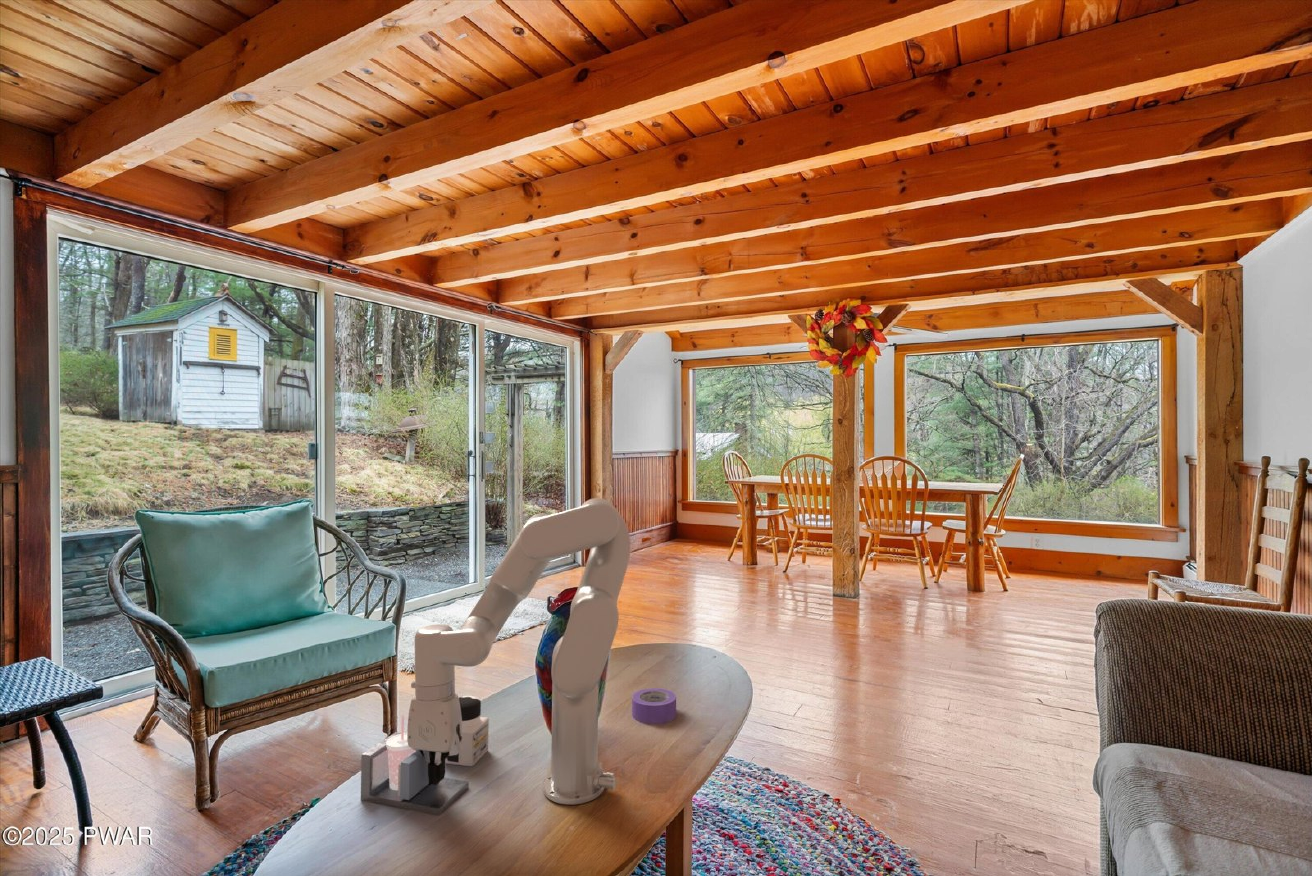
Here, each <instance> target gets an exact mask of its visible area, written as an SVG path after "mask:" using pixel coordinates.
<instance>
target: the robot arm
mask: <svg viewBox="0 0 1312 876" xmlns="http://www.w3.org/2000/svg"><path fill="white" fill-rule="evenodd" d="M586 550H589V554H588V557H587V560H586V564H585V568H584V570H583V573H582V576H581V579H580V582H579V585H578V587H577V590H576V592H575V594H574V597H573V598H572V601H571V604H570V610H569V611H570V612H569V613H570V615H569V618H568V622H567V625H566V628H565V631H564V634H563V635H562V636H561V637H560V638H559V639H558V641H557V642H556V643H555V646H554V648H553V651H552V656H551V657H552V658H551V670H550V671H551V673H550V674H551V680H552V687H551V692H552V694H551V696H552V697H551V702H552V703H551V704H552V705H551V752H550V753H551V755H550V756H551V757H550V758H551V760H550V761H551V762H550V763H551V764H550V768H551V769H550V771H551V772H550V775H548V776H547V777H546V779H544V782H543V787H542V788H543V789H542V790H543V794H544V795H545V796H546V797H545V798H547V799H549V800H550V801H552V802H554V803H557V804H561V805H567V806H568V805H571V806H572V805H581V804H585V803H588V802H591V801H593V800H595V799H596V798H598V797H600V795H602V794H603V792H604V791H605V789H609V790H615V789H616V785H617V779H616V778H615V773H614V772H609V771H604V769H603V762H599V761H598V755H599V753H598V751H599V750H598V749H599V748H598V747H599V745H598V744H599V743H598V742H599V739H598V738H599V682H600V680H601V677H602V674H603V672H604V669H605V666H606V664H607V661H608V657H609V655H610V652H611V649H612V646H613V643H614V641H615V637H616V634H617V631H618V626H619V620H620V619H619V618H620V617H619V609H618V599H619V595H620V592H621V589H622V587H623V583H624V580H625V576H626V572H627V570H628V565H629V561H630V557H631V538H630V532H629V529H628V526H627V523H626V521H625V519H624V518H623V516H622V515H621V514H620V512H619V510H618V509H617V508H616V507H615V505H613V504H612V503H611V502H610V501H609V500H606V499H605V498H599V497H594V498H590V499H588V500H586V501H584V503H582V504H581V506H578V507H575V508H572V509H567V510H565V511H561V512H557V513H554V514H549V513H547V512H546V513H544V512H542V513H536V514H534V515H532V516H531V517H530V518H529V519H528V520H526V522H525V524H524V525H523V527H522V528H521V530H520V531H519V532H518V534H517V536H516V537H515V539H514V540H513V542H512V544H511V545H510V547H509V548H508V550H507V551H506V553H505V555H504V556H503V558H502V559H501V561H500V562H499V563H498V565H497V566H496V568H495V570H494V571H493V573H492V575H491V577H490V580H489V582H488V585H487V587H486V588H485V590H484V591H483V593H482V595H481V596H480V598H479V599H478V601H477V602H476V603H475V606H474V607H473V609H472V610H471V612H470V613H469V614H468V616H467V618H466V619H465V621H464V622H463V624H462V625H461V626H460V628H459V629H457V630H454V629H453V628H452V627H451V626H450V625H447V624H431V625H426V626H423V627H421V628H420V629H418V630H417V631H416V632H415V634H414V680H415V681H412V682H411V684H410V687H411V689H414V690H415V691H414V693H415V694H414V695H413V696H412V697H411V700H410V705H409V709H408V710H409V711H408V716H407V717H408V718H407V732H406V733H407V743H408V746H409V747H410V748H412V749H413V750H415V751H418V752H420V753H421V754H422V755H423V757H424V760H425V763H426V764H428V777H429V784H433V785H437V784H438V783H439V782H440V781H441V780H442V779H443V778H446V777H445V776H446V763H445V759H446V758H447V757H448V756H452V755H457V754H458V753H459V752H461V746H460V742H461V741H462V716H461V708H460V703H459V695H458V693H457V692H456V676H455V674H456V673H455V667H456V666H457V667H467V668H469V667H471V668H472V667H476V666H478V665H481V664H482V663H483V662H484V661H486V660H487V658H488V656H489V655H490V653H491V650H492V646H493V644H494V642H495V640H496V638H497V636H498V635H499V633H500V632H501V630H502V629H503V627H504V626H505V624H506V622H507V621H508V619H509V618H510V616H511V614H513V612H514V610H515V609H516V608H517V607H518V605H519V604H520V603H521V602H522V601H524V600H525V599H526V598H527V597H528V596H529V594H530V593H531V592H532V590H533V589H534V587H535V586H536V584H537V582H538V581H539V579H540V578H541V576H542V574H543V573H544V571H545V570H546V568H547V566H548V565H549V563H550V562H551V560H553V559H558V558H562V557H565V556H566V557H567V556H568V555H569V556H570V555H572V554H576V553H579V552H582V551H586Z"/></svg>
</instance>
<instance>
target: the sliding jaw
mask: <svg viewBox="0 0 1312 876" xmlns="http://www.w3.org/2000/svg"><path fill="white" fill-rule="evenodd" d="M428 784H429V777H428V764H426V763H425V760H424V757H423V755H422V754H421V753H420V752H418V751H416V752H414V753H413V754H411V755H410V756H409V757H407V758H406V759H405V760H403V761H402V762H401V763H400V764H399V767H398V796H400V799H406V800H410V799H411V798H412V797H413V796H414V795H416V794H417V793H418V792H419V791H420V790H422V789H423V788H424V787H425V786H427V785H428Z"/></svg>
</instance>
